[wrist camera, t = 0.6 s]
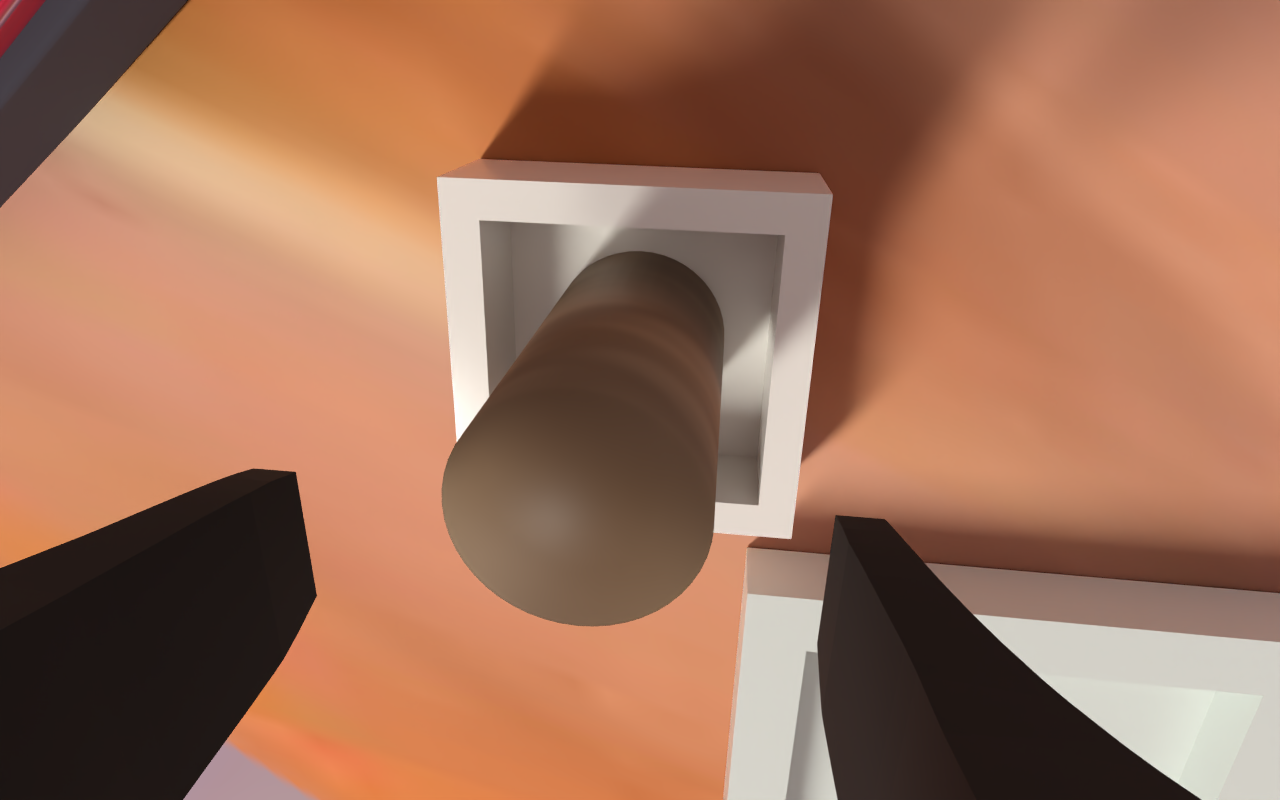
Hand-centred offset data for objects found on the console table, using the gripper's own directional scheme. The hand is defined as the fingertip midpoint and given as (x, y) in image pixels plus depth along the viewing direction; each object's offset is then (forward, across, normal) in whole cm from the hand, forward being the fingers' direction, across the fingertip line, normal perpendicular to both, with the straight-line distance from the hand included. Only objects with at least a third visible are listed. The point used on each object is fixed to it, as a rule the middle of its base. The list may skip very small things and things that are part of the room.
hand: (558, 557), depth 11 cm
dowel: (+9, 0, 0) cm, 9 cm away
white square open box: (+10, 0, 0) cm, 10 cm away
